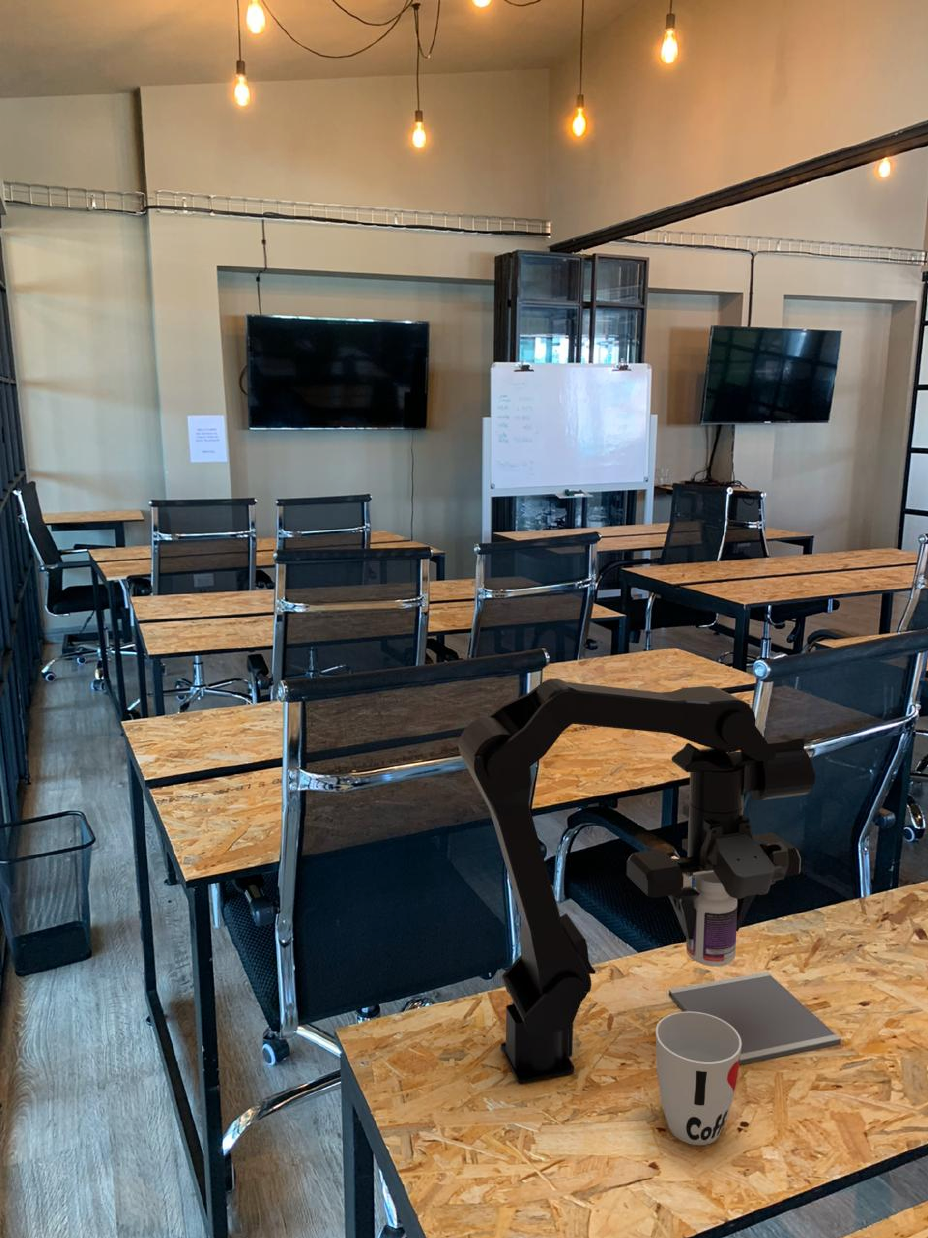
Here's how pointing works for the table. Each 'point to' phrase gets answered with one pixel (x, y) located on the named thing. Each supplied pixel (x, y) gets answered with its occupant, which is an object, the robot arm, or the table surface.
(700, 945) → the pill bottle
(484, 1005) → the table surface
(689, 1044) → the cup
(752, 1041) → the mat
